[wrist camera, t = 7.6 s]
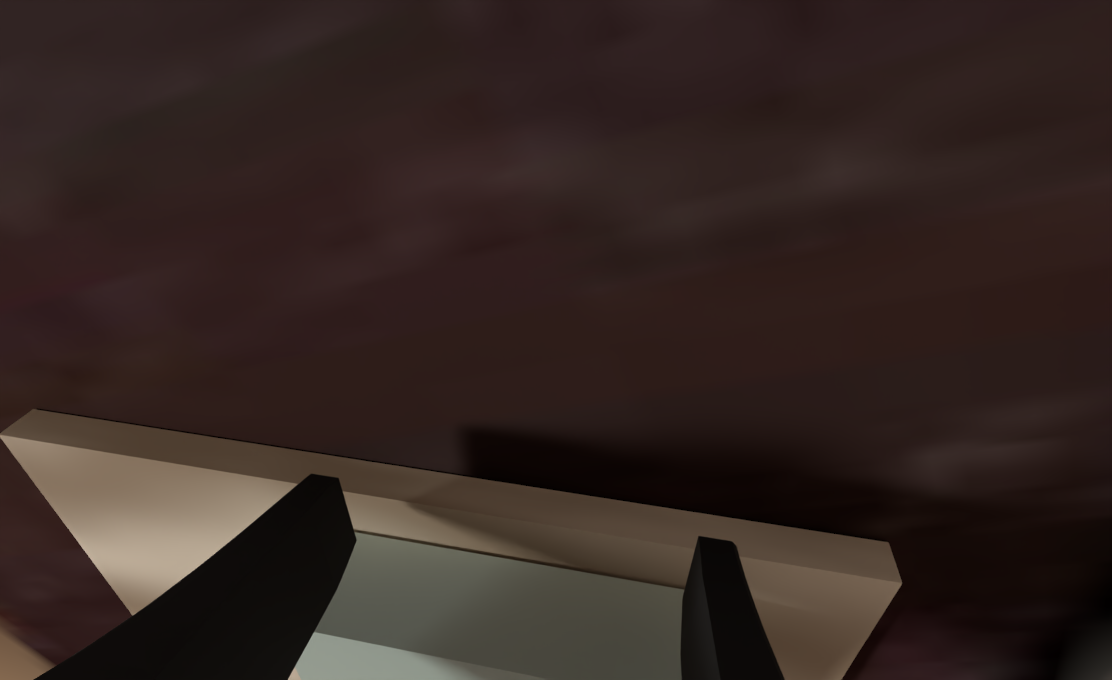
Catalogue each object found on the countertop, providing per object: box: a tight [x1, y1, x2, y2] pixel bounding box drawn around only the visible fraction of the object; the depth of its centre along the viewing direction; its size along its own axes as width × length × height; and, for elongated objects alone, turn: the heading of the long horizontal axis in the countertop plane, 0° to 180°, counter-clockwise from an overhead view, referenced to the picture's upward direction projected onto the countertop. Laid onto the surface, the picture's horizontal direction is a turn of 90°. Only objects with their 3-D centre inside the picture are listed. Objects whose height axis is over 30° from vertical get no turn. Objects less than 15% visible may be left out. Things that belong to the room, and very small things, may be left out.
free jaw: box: [295, 532, 684, 680], centre depth 14 cm, size 5×10×2 cm, turn 89°
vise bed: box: [0, 409, 902, 680], centre depth 19 cm, size 16×22×1 cm
